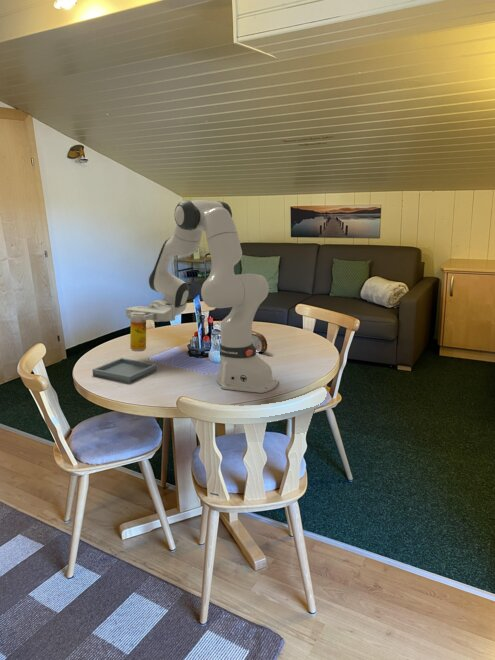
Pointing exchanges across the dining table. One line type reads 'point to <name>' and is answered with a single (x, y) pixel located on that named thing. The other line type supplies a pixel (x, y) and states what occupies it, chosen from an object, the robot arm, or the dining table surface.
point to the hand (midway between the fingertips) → (136, 317)
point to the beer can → (138, 332)
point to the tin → (259, 341)
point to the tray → (125, 370)
